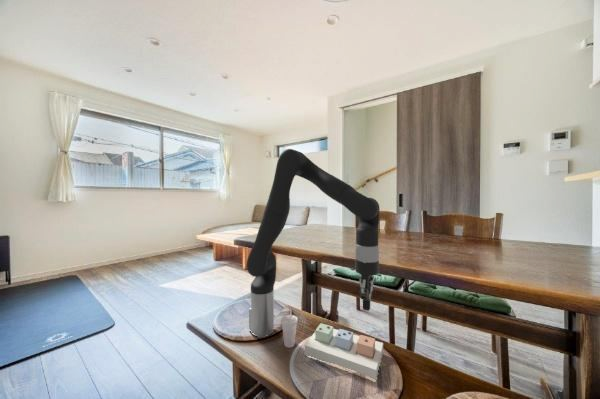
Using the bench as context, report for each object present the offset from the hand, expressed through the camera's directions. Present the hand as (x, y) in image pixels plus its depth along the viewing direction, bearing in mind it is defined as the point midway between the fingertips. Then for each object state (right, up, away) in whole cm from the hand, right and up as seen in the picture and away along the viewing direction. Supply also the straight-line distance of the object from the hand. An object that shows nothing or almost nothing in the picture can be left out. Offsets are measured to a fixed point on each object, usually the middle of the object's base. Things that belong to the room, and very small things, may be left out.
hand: (366, 309), depth 77 cm
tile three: (-7, -16, +4) cm, 18 cm away
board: (-7, -18, +4) cm, 20 cm away
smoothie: (-26, -18, +10) cm, 33 cm away
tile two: (-13, -16, +8) cm, 22 cm away
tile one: (0, -17, +1) cm, 17 cm away
